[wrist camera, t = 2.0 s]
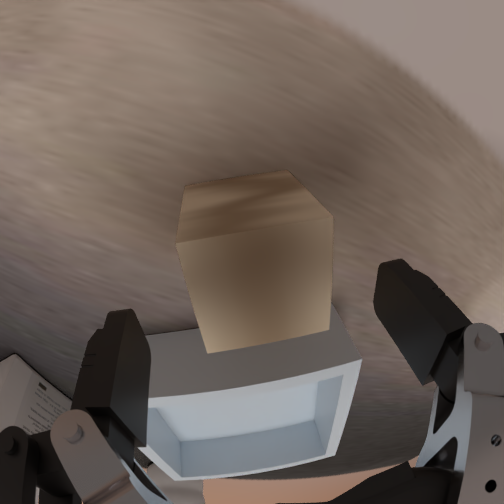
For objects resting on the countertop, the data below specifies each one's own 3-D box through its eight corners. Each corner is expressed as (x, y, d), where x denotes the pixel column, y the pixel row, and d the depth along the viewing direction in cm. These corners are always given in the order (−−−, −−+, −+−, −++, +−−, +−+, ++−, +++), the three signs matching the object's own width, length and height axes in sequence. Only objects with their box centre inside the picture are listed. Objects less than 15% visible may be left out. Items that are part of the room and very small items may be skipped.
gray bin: (331, 302, 19) (362, 358, 15) (320, 413, 27) (335, 455, 23) (108, 339, 18) (94, 400, 14) (173, 438, 26) (174, 480, 21)
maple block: (286, 169, 15) (334, 216, 9) (292, 256, 17) (329, 329, 12) (185, 185, 14) (175, 243, 9) (203, 272, 17) (207, 353, 12)
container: (38, 414, 22) (18, 518, 11) (-16, 369, 19) (-54, 478, 7) (79, 404, 22) (60, 531, 11) (15, 351, 18) (-31, 488, 7)
